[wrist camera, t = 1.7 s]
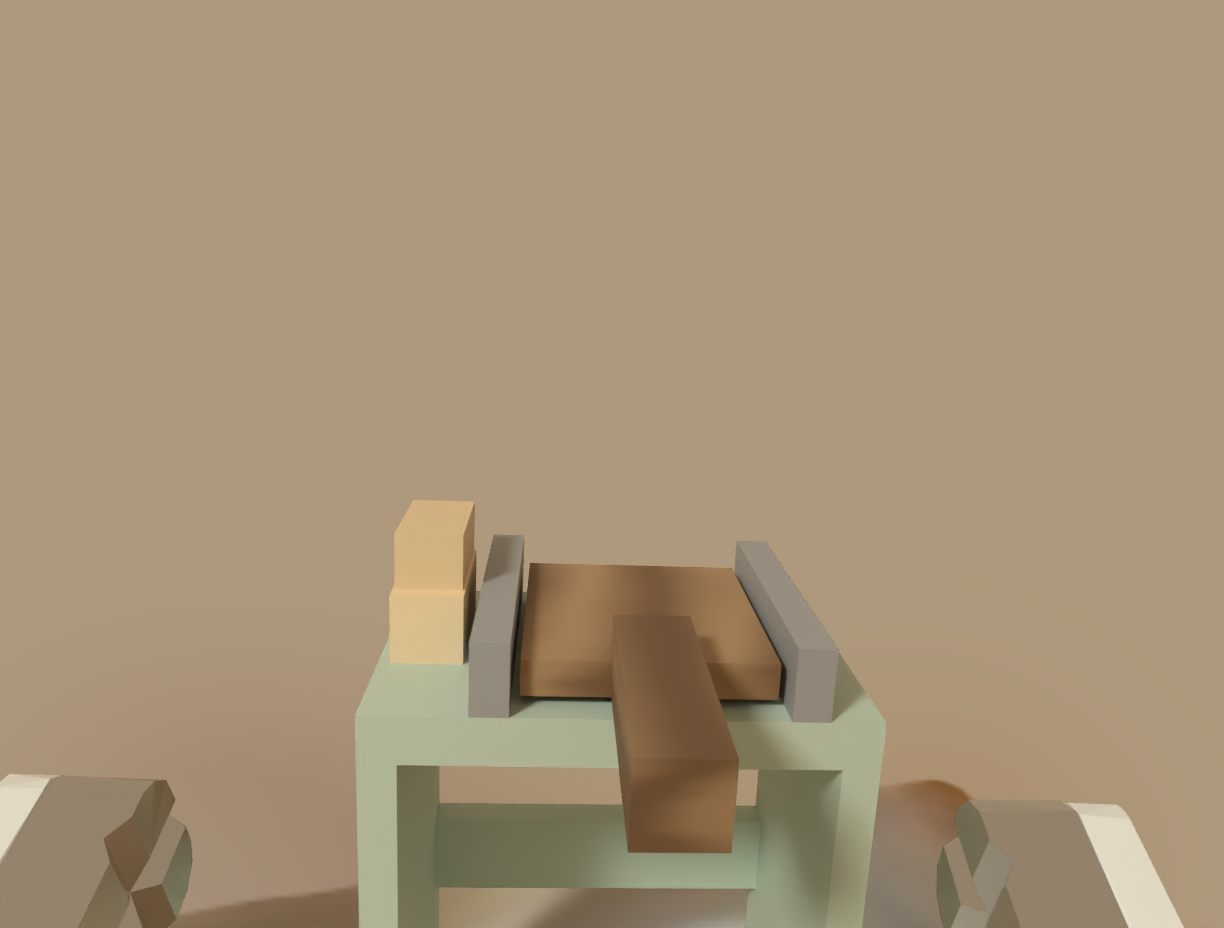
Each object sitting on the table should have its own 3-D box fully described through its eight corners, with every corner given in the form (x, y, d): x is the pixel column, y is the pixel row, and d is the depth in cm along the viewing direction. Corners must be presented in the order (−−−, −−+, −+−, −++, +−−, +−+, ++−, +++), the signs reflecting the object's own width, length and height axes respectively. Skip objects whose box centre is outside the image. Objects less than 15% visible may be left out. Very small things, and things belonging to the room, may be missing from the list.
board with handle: (505, 852, 27) (507, 756, 26) (529, 592, 47) (530, 533, 46) (850, 853, 28) (861, 761, 27) (729, 596, 48) (734, 539, 47)
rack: (365, 1266, 41) (352, 577, 34) (411, 1023, 54) (409, 485, 46) (822, 1257, 42) (903, 590, 35) (762, 1022, 55) (812, 497, 48)
